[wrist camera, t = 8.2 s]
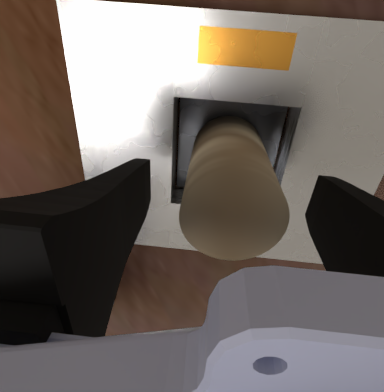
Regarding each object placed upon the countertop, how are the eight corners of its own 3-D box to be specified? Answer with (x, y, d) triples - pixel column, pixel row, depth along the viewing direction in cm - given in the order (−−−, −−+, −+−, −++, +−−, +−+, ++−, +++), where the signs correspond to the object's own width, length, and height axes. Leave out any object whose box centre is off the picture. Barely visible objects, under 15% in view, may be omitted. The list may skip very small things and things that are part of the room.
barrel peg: (194, 180, 17) (181, 258, 11) (192, 116, 15) (175, 170, 9) (258, 180, 17) (281, 262, 11) (265, 115, 15) (298, 171, 9)
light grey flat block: (105, 221, 19) (94, 240, 18) (77, 2, 13) (54, -3, 11) (328, 244, 19) (339, 266, 17) (422, 27, 12) (458, 26, 10)
